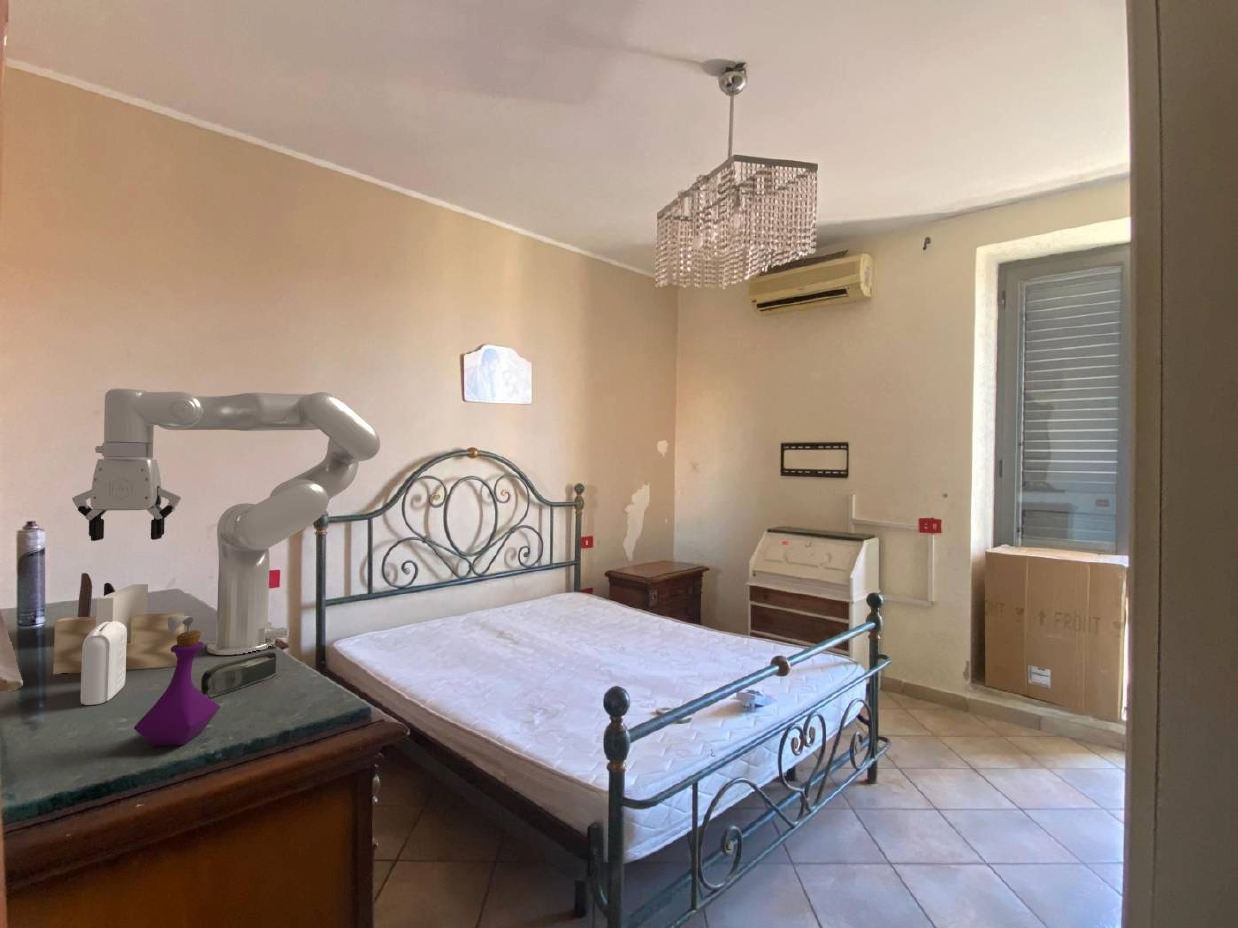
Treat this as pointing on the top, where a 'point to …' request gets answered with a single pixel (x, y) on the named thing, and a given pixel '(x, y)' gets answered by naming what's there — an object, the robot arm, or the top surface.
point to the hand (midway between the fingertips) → (127, 539)
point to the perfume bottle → (179, 697)
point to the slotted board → (141, 651)
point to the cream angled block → (123, 606)
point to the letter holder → (89, 595)
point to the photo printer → (103, 663)
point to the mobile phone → (237, 674)
